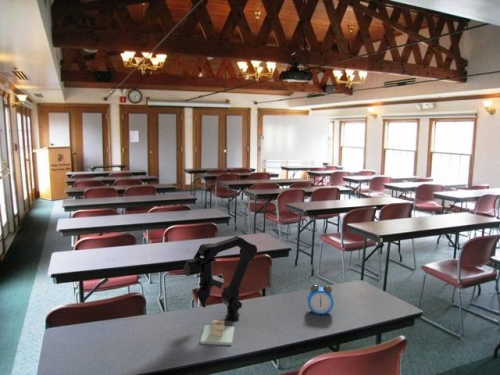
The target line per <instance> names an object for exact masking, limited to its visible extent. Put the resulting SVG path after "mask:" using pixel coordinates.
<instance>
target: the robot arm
mask: <svg viewBox="0 0 500 375" xmlns="http://www.w3.org/2000/svg"><path fill="white" fill-rule="evenodd" d="M236 247H238V248H239V260H238V262H237V265H236V267H235V269H234V270H235V271H234V273H233V275H232V279H231V280H230V283H229V285H228V286H226V287H225V286H224V287H223V285H224V283H225V278H223V277H224V276H223V274H222V273H219V274H217V275H214V272H213V263H215V262H217V259H216V258H215V257H216V256H217V255H218V254H219V253H222V252H224V251H227V250H231V249H233V248H236ZM257 253H258V246H257V245H255V244H254V243H252V242H248V241H247V240H245V239H244V238H242V237H241V236H238V235H235V236H233V237H231V238H227V239H224V240H222V241H219V242H216V243H209V242H208V243H202V244H200V245H199V248H198V249H197V251H196V253H195V255H194V256H193V259H191V260H186V262H185V263H184V265H183V272H184V275H185V276H186V277H190V276H195V275H198V274H199V275H198V278H199V284H198V286H200V287H198V288H197V289H196V291H195V296H196V297H197V299H198V300H199V301H200V304H201V306H202V308H203V309H205V308H206V306H207V300H209V298H210V296H211V294H212V293H211V292H212V290H211V289H212V287H213V286H214V287H216V288H218V289H220V290H221V289H222V288H223V289H222V292H221V294H220V295H221V297H220V299H221V301H222V302H223V304H224V305H226V315H225V320H226V321H233V322H234V321H237V322H238V321H239V320H240V313H239V310H240V309H242V306H243V302H241V301H240V300H239V298H240V291H239V290H240V287H241V285H242V281H243V279H244V276H245V274H246V271H247V270H248V269H247V268H248V267H249V263H250V262H251V261H252V260H253V259H254V258H255V256H256V254H257ZM225 320H224V321H225Z"/></svg>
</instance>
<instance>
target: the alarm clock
mask: <svg viewBox="0 0 500 375" xmlns="http://www.w3.org/2000/svg"><path fill="white" fill-rule="evenodd" d="M332 292H333V289H332V287H331V286H330V285H328V284H325V285H324V286H323V285H320V286H319V285H318V284H315V283H314V284H311V286H310V287H309V292H308V295H307V305H308V308H309V309H310V311H311V312H312V314H313V313H314V314H316V315H320V314H321V315H328V313H330V312H331V311H332V310H333V308H334V297H333V294H332Z"/></svg>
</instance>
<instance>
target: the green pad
mask: <svg viewBox="0 0 500 375" xmlns="http://www.w3.org/2000/svg"><path fill="white" fill-rule="evenodd" d="M235 328H236V327H235V326H232V325H230V326H229V325H228V326H227V325H224V334H223V337H219V336H212V324H211V325H209V324H208V325H206V324H205V326H204V327H203V331H202V335H201V337H200V340H199V344H201V345H203V344H204V345H220V346H232V345H233V340H234V335H235Z"/></svg>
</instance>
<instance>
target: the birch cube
mask: <svg viewBox="0 0 500 375" xmlns="http://www.w3.org/2000/svg"><path fill="white" fill-rule="evenodd" d="M211 325H212V336H219V337H223V334H224V326H225V320H215V319H214V320H213V321H212V324H211Z"/></svg>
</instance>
